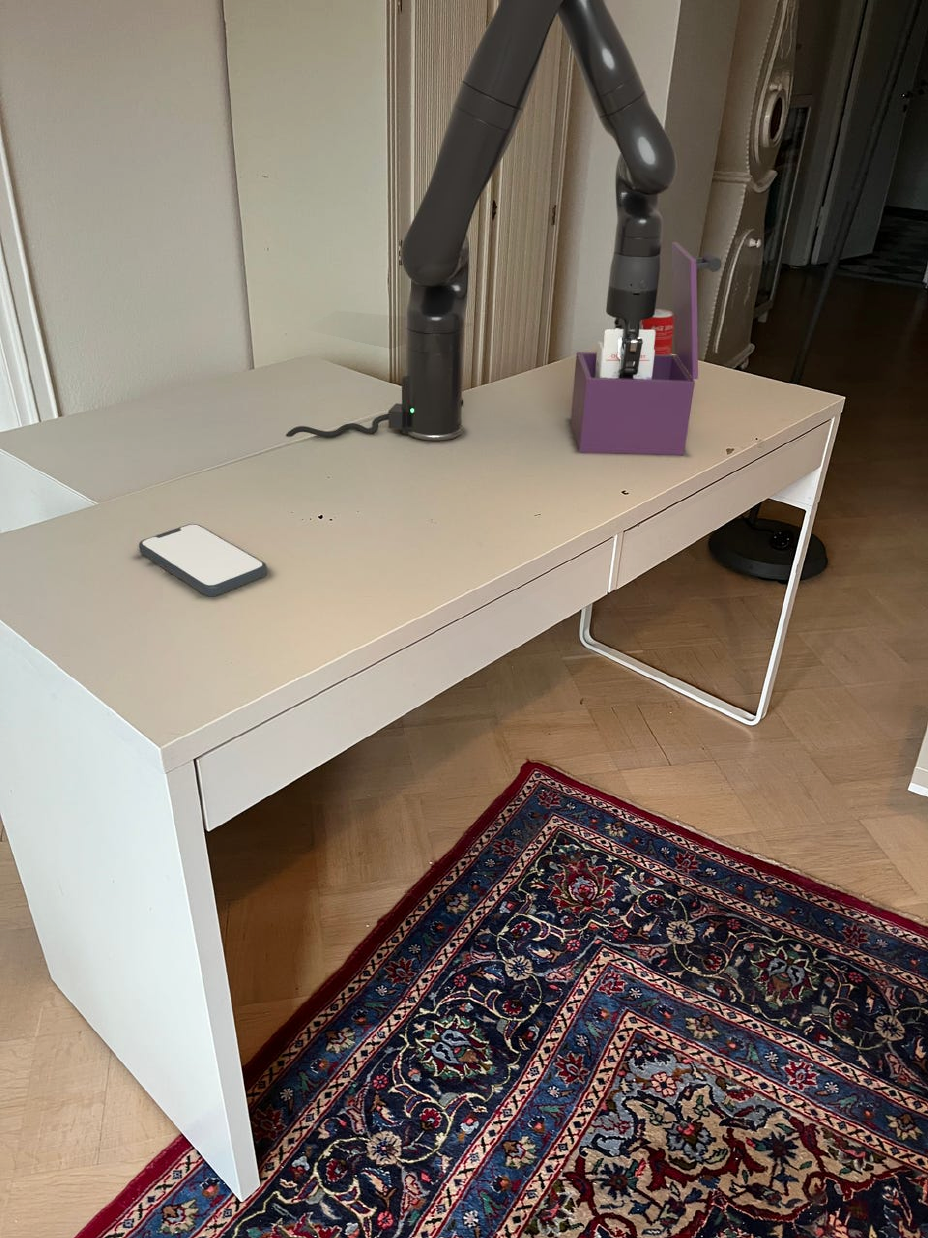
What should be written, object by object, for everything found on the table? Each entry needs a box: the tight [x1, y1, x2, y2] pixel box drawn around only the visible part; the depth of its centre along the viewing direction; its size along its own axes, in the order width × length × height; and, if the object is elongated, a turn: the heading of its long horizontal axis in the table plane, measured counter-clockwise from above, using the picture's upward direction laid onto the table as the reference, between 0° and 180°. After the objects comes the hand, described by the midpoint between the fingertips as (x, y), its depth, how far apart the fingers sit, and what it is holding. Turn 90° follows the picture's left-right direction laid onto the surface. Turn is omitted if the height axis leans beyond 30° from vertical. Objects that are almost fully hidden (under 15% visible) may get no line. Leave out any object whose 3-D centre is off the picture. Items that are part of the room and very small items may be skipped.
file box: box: [570, 351, 696, 456], centre depth 157 cm, size 17×15×12 cm
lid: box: [671, 241, 723, 380], centre depth 149 cm, size 18×15×6 cm
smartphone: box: [138, 523, 268, 597], centre depth 117 cm, size 9×2×16 cm
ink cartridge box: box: [595, 328, 655, 379], centre depth 154 cm, size 9×5×15 cm, turn 92°
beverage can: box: [640, 308, 674, 355], centre depth 177 cm, size 6×6×15 cm
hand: (621, 391), depth 156 cm, fingers closed on ink cartridge box, 5 cm apart
